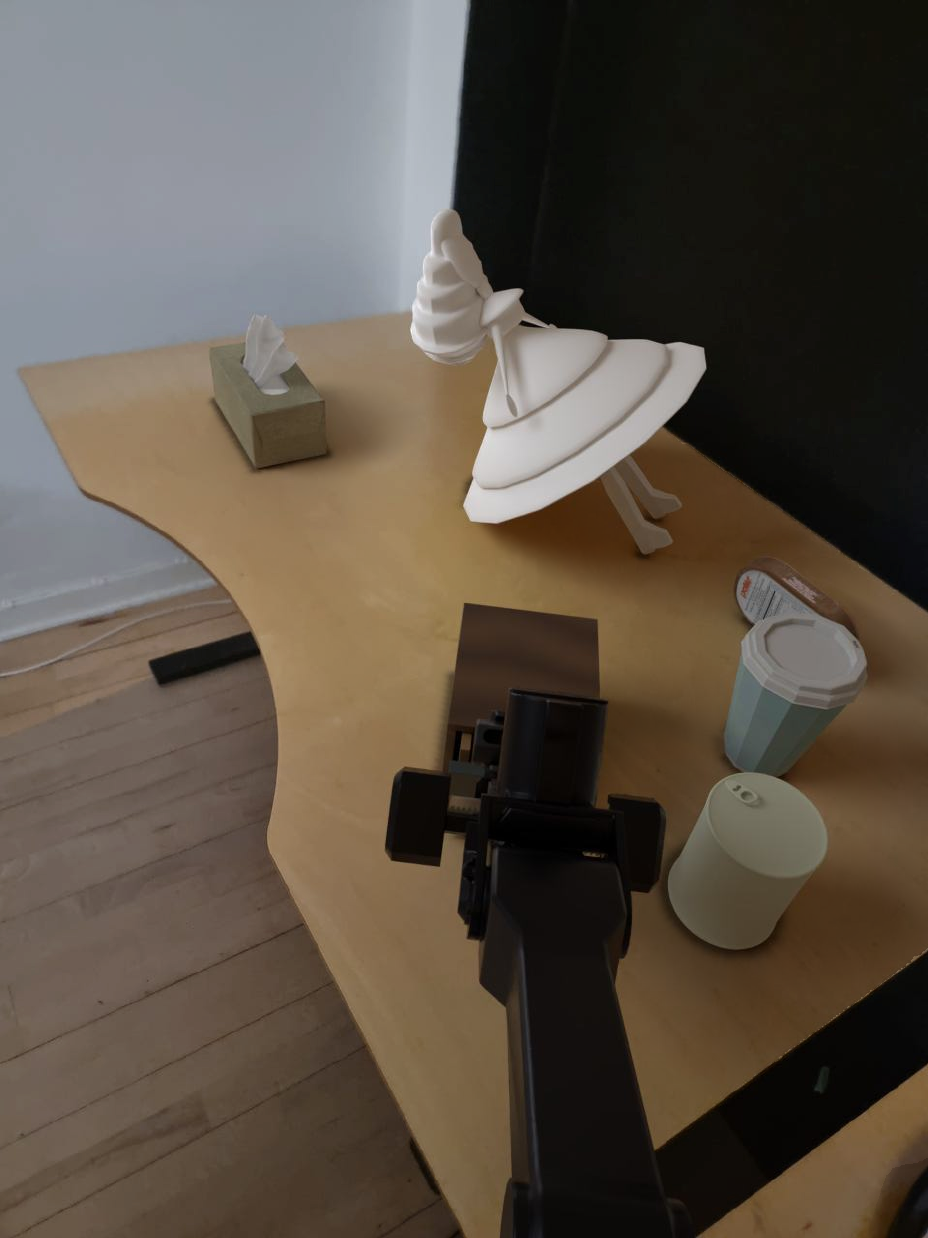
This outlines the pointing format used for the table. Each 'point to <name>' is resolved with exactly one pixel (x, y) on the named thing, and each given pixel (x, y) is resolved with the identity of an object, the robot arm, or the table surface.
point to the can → (746, 859)
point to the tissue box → (268, 397)
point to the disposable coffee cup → (790, 689)
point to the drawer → (464, 773)
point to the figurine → (550, 394)
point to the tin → (784, 594)
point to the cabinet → (516, 662)
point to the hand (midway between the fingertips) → (517, 804)
